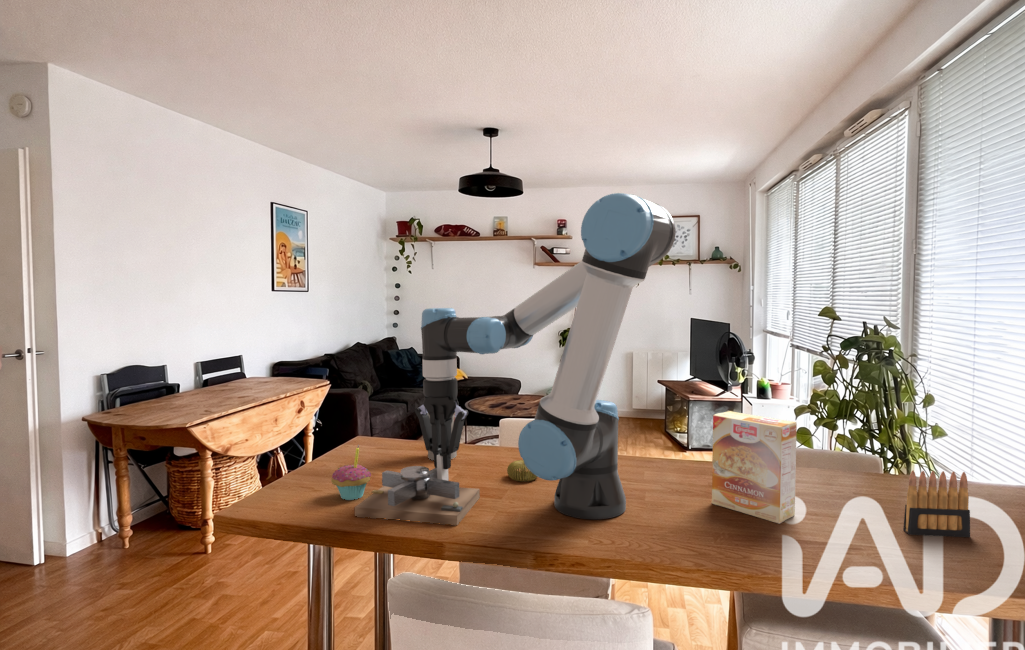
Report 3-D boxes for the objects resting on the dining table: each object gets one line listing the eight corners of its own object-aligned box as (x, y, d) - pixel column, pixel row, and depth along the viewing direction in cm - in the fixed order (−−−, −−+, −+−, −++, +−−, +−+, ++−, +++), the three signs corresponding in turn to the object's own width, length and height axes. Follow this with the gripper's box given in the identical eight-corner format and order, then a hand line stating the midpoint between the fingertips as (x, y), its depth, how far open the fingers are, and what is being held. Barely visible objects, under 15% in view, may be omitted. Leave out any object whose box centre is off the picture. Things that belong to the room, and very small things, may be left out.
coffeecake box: (710, 503, 125) (711, 414, 124) (727, 496, 129) (729, 410, 128) (779, 524, 113) (781, 426, 112) (796, 515, 118) (797, 421, 117)
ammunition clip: (908, 534, 108) (910, 471, 108) (903, 530, 110) (904, 468, 109) (970, 537, 107) (972, 473, 106) (964, 533, 109) (966, 470, 108)
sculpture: (517, 456, 148) (545, 460, 144) (517, 471, 148) (545, 476, 144) (501, 464, 141) (529, 469, 137) (501, 480, 141) (529, 485, 137)
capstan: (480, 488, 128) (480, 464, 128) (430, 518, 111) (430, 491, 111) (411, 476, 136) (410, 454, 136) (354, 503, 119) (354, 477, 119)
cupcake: (377, 492, 133) (377, 440, 133) (358, 505, 125) (357, 450, 124) (344, 488, 135) (343, 438, 135) (323, 501, 127) (322, 447, 127)
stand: (479, 497, 129) (479, 481, 129) (457, 525, 114) (456, 507, 113) (386, 490, 134) (386, 475, 134) (352, 516, 118) (352, 499, 118)
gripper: (473, 376, 128) (476, 481, 129) (425, 374, 134) (428, 474, 135) (455, 381, 121) (458, 491, 123) (406, 378, 127) (409, 484, 128)
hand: (442, 482), depth 129 cm, fingers closed
